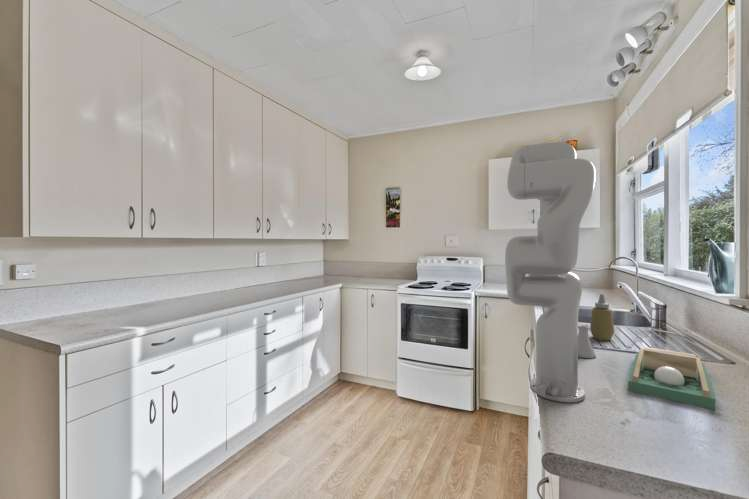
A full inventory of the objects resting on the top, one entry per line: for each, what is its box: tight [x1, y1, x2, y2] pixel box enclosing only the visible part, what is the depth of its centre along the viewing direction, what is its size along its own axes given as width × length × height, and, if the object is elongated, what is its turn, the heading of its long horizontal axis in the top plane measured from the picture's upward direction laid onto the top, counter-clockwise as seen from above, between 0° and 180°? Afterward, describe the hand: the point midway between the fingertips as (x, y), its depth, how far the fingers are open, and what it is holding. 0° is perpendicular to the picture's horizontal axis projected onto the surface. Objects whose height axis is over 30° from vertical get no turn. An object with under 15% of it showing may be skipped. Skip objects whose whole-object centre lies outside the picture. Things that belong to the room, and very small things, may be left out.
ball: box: [654, 366, 685, 386], centre depth 87 cm, size 6×6×6 cm
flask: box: [578, 325, 597, 359], centre depth 114 cm, size 7×7×10 cm
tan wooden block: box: [643, 346, 697, 378], centre depth 93 cm, size 4×11×5 cm, turn 49°
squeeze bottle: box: [589, 293, 615, 342], centre depth 133 cm, size 8×8×18 cm
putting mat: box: [627, 347, 716, 411], centre depth 93 cm, size 30×16×4 cm, turn 139°
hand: (552, 271), depth 114 cm, fingers closed
